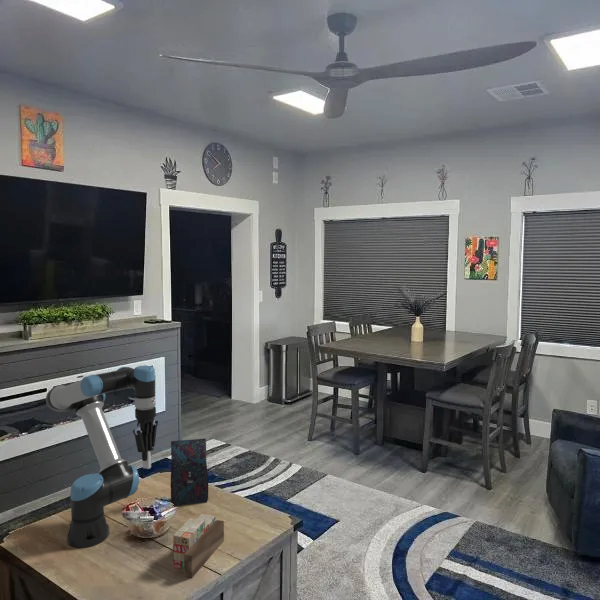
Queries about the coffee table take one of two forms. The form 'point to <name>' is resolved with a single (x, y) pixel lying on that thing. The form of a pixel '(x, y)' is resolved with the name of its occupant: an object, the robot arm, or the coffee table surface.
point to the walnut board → (203, 548)
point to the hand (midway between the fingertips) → (146, 467)
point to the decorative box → (189, 472)
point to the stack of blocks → (189, 537)
